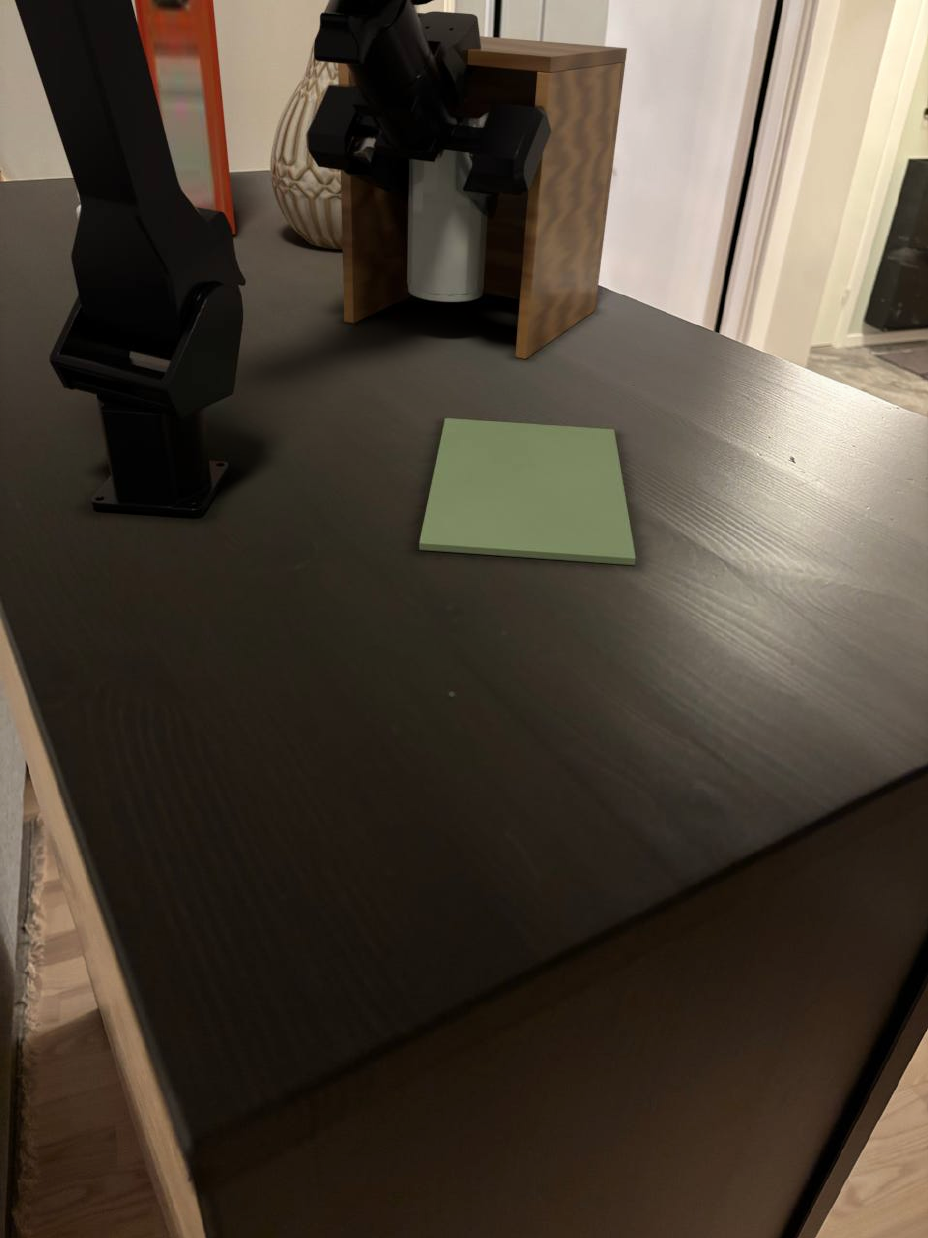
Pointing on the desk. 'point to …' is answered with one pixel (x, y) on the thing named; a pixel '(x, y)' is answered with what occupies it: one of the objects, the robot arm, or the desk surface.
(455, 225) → the container
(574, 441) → the mat
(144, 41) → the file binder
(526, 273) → the cubby cabinet
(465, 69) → the robot arm
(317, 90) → the vase
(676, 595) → the desk surface
